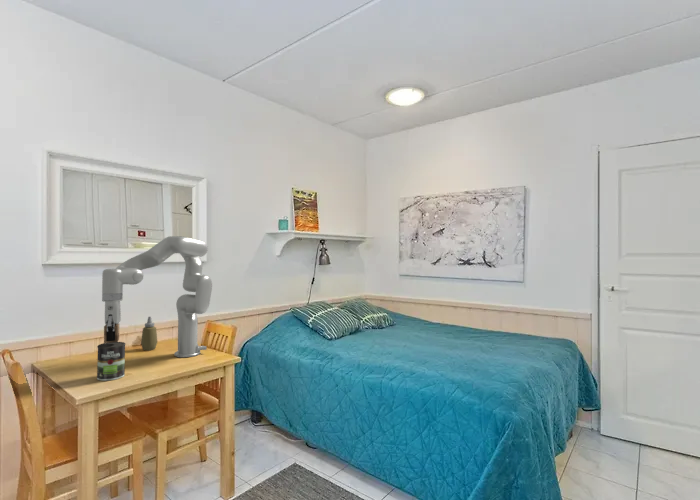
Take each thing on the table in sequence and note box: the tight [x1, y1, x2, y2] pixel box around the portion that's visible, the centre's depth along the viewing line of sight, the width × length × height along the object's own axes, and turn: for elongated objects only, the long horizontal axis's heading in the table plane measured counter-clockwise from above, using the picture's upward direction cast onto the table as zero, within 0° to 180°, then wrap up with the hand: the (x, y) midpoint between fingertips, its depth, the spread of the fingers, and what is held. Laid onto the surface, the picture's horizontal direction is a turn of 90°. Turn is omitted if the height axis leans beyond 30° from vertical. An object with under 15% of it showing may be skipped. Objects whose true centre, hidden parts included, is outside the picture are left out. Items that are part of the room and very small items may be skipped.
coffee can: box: [96, 341, 126, 382], centre depth 166 cm, size 10×10×14 cm
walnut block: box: [103, 323, 120, 343], centre depth 166 cm, size 5×5×7 cm
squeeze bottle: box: [140, 316, 158, 352], centre depth 211 cm, size 8×8×18 cm
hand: (111, 338), depth 166 cm, fingers closed on walnut block, 5 cm apart
